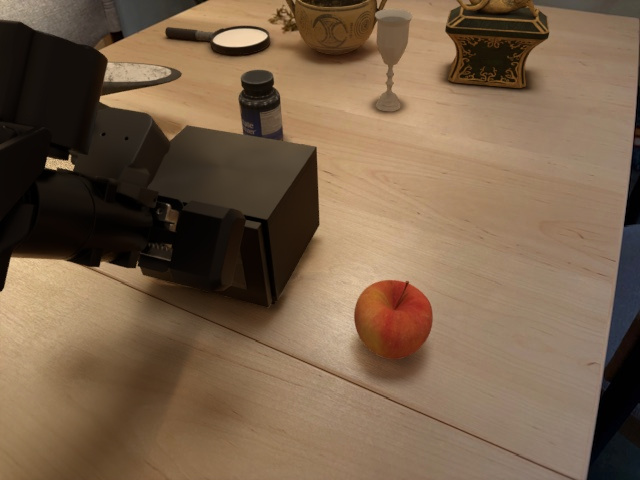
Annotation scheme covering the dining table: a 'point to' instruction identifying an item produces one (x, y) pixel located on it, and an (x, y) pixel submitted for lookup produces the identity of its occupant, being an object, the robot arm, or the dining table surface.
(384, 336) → the apple
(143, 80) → the coffee table
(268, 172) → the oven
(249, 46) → the magnifying glass
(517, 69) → the decorative box
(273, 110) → the pill bottle
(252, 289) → the oven door
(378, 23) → the chalice
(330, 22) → the ceramic bowl
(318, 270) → the dining table surface
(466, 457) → the dining table surface
